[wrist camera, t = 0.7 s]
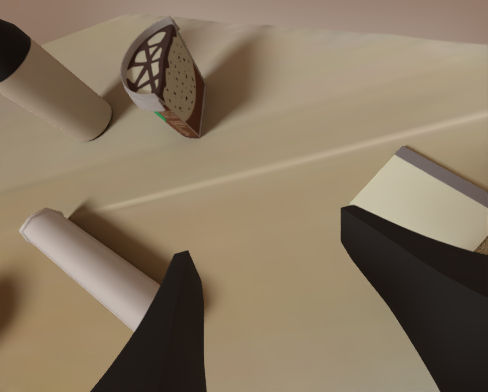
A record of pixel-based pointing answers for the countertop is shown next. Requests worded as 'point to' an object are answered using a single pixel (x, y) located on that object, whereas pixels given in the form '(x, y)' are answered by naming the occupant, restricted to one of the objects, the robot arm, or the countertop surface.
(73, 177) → the countertop surface
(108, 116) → the travel mug
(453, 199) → the notepad
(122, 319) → the tube
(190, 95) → the food container
